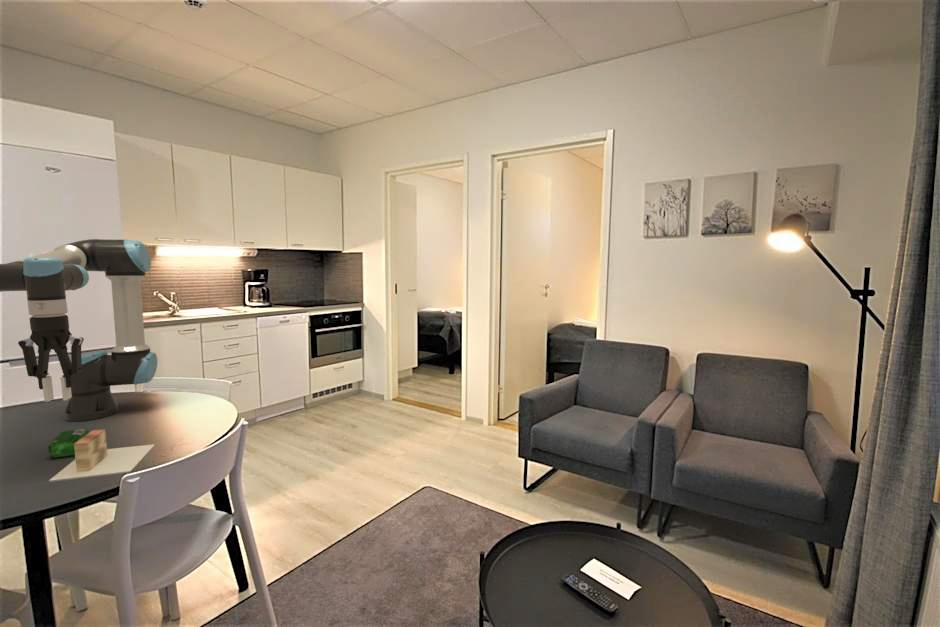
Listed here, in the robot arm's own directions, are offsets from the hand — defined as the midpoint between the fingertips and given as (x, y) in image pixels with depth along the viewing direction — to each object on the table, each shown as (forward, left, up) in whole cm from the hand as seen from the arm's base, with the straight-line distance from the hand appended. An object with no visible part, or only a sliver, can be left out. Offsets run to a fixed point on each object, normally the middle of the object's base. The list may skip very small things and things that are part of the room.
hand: (58, 399), depth 120 cm
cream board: (0, +10, -20) cm, 22 cm away
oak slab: (+1, +7, -19) cm, 20 cm away
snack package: (-13, -5, -20) cm, 24 cm away
